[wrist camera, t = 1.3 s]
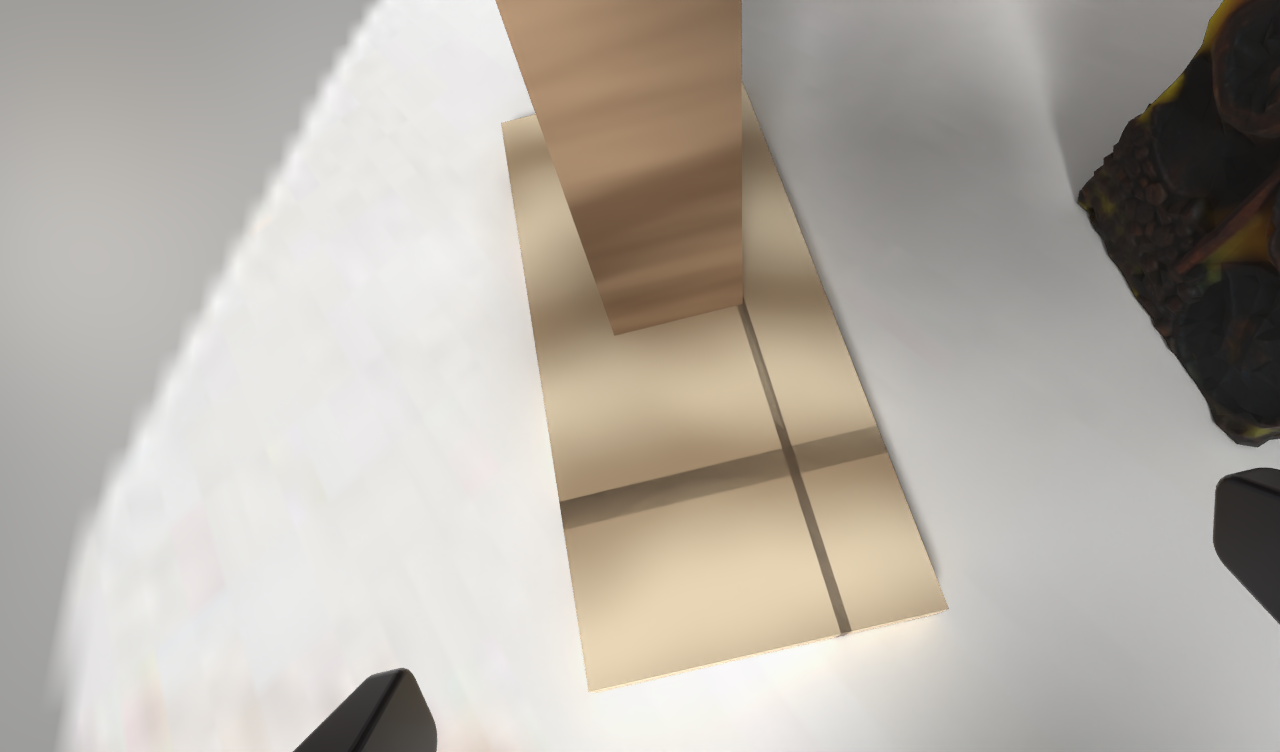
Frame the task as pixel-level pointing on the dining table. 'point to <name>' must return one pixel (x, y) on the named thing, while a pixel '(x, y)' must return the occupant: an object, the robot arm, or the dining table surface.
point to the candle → (1208, 216)
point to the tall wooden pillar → (643, 144)
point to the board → (711, 450)
